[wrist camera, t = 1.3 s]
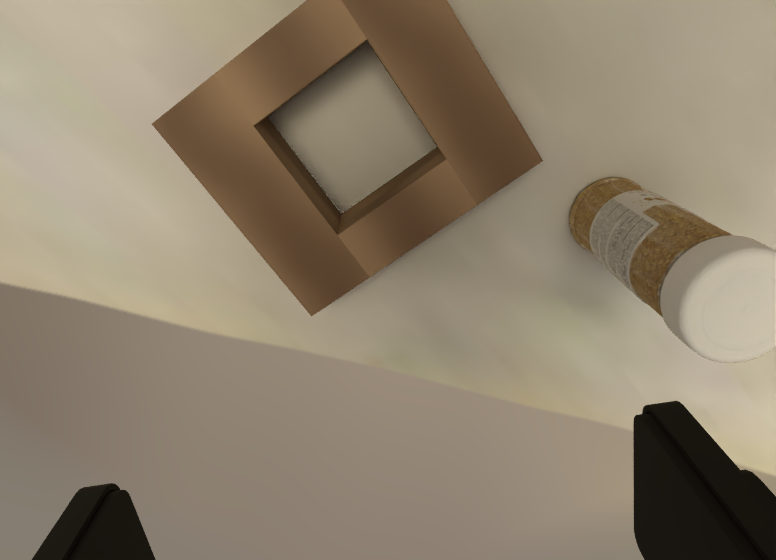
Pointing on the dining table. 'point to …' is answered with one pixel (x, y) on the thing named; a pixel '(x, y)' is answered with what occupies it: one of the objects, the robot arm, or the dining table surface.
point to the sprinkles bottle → (682, 268)
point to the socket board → (293, 181)
